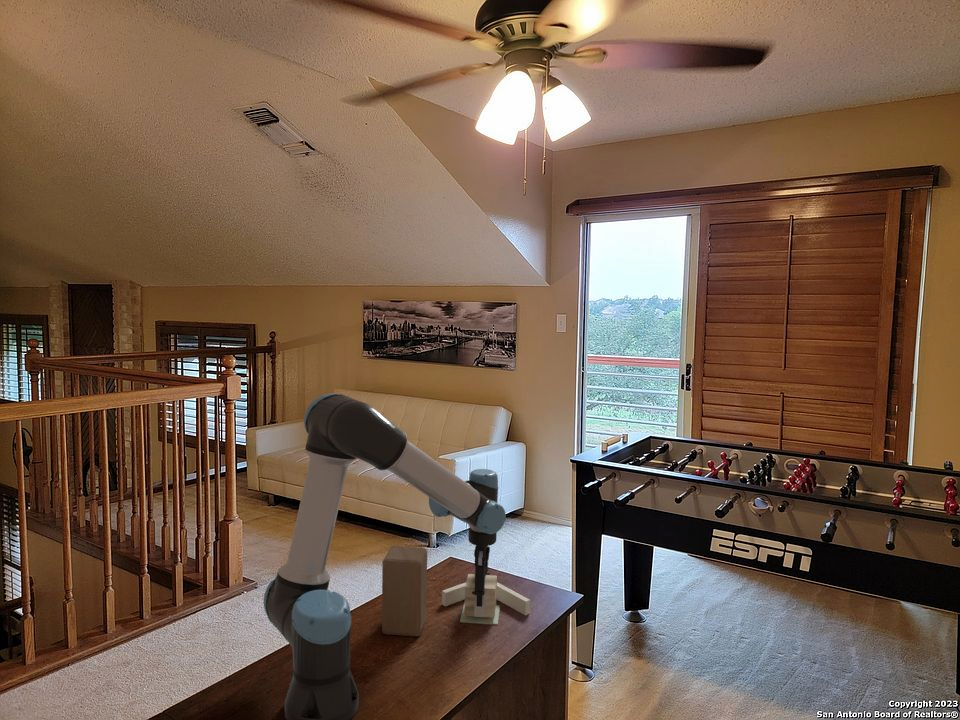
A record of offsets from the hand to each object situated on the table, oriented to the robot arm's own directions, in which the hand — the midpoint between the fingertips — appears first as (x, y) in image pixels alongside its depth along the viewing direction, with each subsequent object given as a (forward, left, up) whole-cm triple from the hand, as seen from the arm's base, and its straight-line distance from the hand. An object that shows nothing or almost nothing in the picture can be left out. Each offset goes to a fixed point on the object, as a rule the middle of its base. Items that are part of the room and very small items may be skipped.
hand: (480, 608), depth 180 cm
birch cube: (0, 0, 0) cm, 0 cm away
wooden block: (-20, +7, -2) cm, 21 cm away
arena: (+2, +1, -2) cm, 3 cm away
